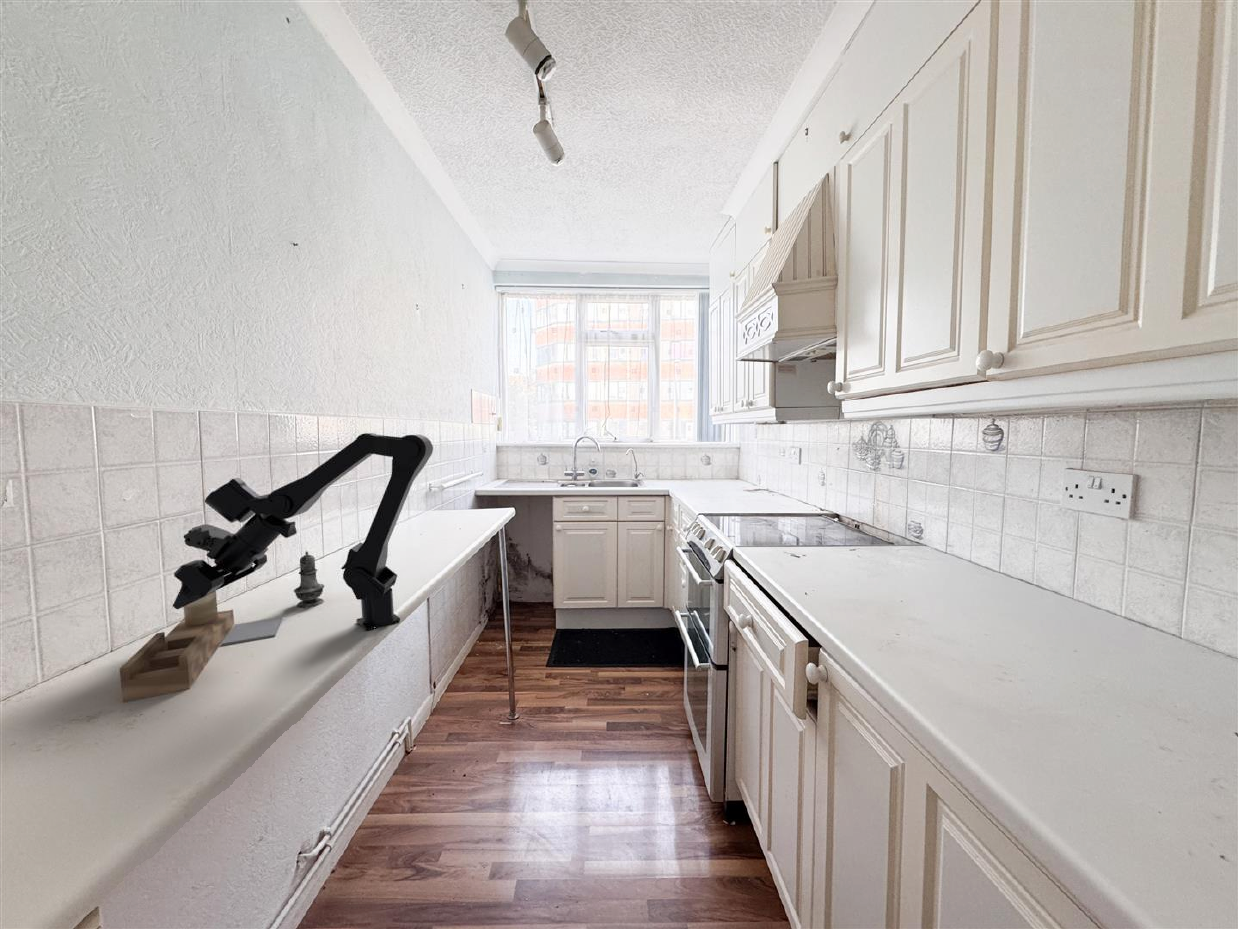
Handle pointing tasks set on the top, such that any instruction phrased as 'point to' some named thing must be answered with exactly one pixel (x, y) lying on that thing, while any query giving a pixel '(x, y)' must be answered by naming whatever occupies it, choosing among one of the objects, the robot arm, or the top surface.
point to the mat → (253, 631)
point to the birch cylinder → (201, 610)
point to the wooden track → (173, 658)
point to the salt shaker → (308, 583)
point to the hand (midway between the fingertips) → (193, 598)
